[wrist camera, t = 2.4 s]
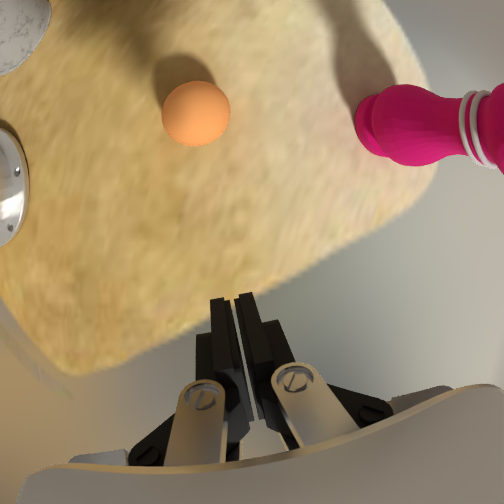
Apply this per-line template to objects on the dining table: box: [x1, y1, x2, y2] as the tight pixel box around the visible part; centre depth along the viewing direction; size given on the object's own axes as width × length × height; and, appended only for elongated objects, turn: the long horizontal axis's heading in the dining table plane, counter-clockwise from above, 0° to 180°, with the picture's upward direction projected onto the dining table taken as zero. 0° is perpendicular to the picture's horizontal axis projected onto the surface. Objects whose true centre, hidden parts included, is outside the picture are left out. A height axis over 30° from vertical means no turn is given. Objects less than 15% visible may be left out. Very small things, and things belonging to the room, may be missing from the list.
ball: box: [162, 81, 230, 146], centre depth 18 cm, size 5×5×5 cm
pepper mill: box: [355, 83, 504, 174], centre depth 14 cm, size 7×7×20 cm
